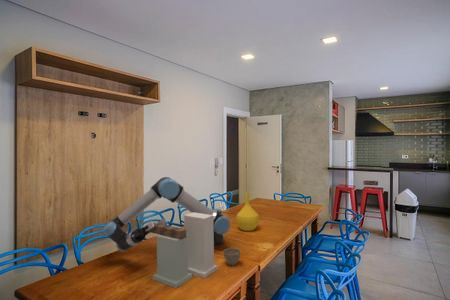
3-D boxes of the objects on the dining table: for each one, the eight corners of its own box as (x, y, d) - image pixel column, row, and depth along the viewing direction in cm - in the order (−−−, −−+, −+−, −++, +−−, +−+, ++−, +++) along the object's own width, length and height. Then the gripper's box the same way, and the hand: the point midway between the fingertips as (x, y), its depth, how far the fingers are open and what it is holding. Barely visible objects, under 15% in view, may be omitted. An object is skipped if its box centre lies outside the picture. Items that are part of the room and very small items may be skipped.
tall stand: (181, 270, 144) (180, 215, 144) (195, 262, 154) (194, 211, 154) (204, 278, 136) (203, 219, 135) (217, 269, 146) (216, 214, 145)
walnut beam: (147, 231, 143) (147, 224, 143) (153, 229, 146) (153, 222, 146) (180, 239, 130) (180, 231, 130) (186, 237, 133) (186, 229, 133)
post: (153, 279, 135) (152, 236, 135) (170, 270, 145) (169, 230, 145) (175, 288, 126) (175, 242, 126) (192, 277, 136) (191, 235, 136)
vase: (233, 231, 210) (233, 194, 210) (239, 225, 228) (239, 190, 227) (256, 233, 204) (255, 195, 204) (261, 227, 222) (260, 191, 221)
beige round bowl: (230, 258, 160) (230, 246, 160) (244, 262, 153) (244, 250, 153) (220, 264, 152) (219, 251, 152) (233, 268, 146) (233, 256, 146)
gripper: (153, 237, 159) (176, 223, 149) (121, 249, 141) (145, 234, 131) (148, 225, 161) (171, 211, 151) (117, 236, 143) (140, 220, 133)
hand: (159, 222), depth 141 cm, fingers open, 9 cm apart
